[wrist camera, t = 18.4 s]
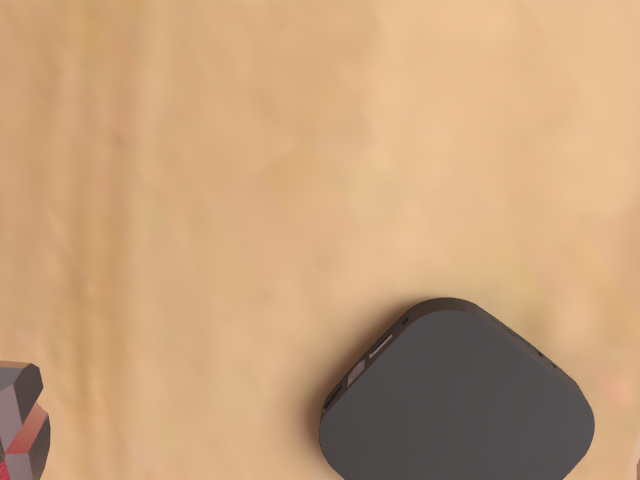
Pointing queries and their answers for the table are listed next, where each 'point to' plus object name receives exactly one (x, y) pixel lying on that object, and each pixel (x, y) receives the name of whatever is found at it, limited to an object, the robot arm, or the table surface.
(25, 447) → the robot arm
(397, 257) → the table surface
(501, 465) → the media streaming box
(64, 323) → the table surface
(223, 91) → the table surface
